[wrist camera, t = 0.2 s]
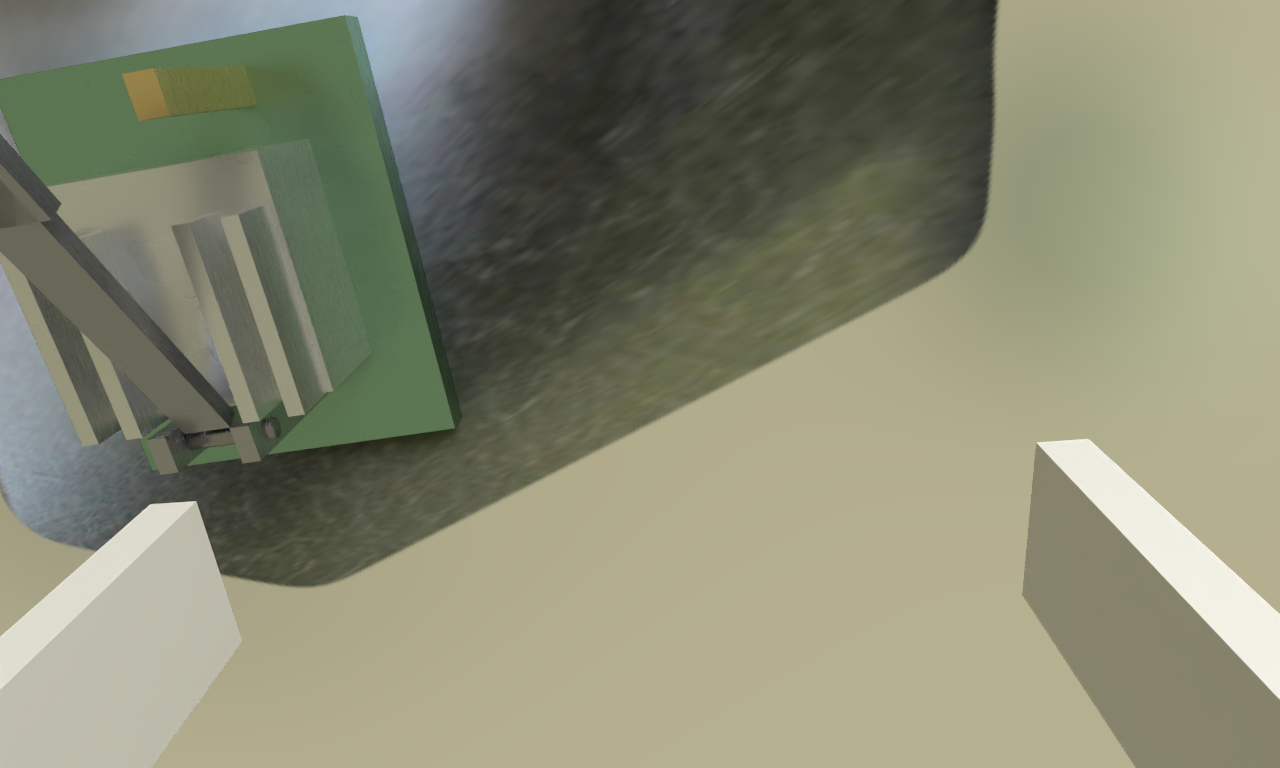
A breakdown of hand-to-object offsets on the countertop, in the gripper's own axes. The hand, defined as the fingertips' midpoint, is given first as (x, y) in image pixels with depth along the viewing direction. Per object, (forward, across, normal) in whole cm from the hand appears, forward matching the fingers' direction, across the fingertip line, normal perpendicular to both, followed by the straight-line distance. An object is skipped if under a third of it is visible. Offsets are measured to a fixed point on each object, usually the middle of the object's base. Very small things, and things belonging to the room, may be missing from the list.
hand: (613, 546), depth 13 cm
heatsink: (+28, -19, 0) cm, 34 cm away
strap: (+17, -19, +1) cm, 25 cm away
